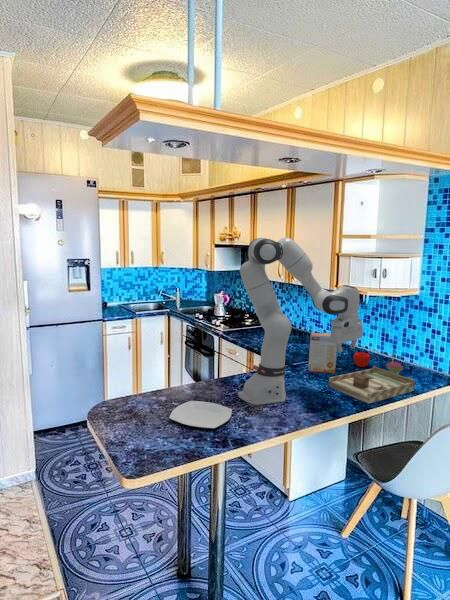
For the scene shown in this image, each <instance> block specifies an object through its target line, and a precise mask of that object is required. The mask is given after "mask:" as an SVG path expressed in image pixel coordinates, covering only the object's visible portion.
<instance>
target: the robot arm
mask: <svg viewBox="0 0 450 600" xmlns="http://www.w3.org/2000/svg"><path fill="white" fill-rule="evenodd" d="M247 247H248V248H247V254H246V255H247V256H246V260H247V261H245V262H244V263H242V265H241V266H240V268H239V274H240V277H241V278H240V279H241V281H242V283H243V286H244V289H245V291H246V293H247V296H248V297H249V299H250V301H251V304H252V307H253V308H254V311H255V314H256V316H257V318H258V321H259V323H260V324H261V325H260V326H261V327H262V328H263V330H264V336H263V341H262V344H261V349H260V361H259V362H260V363H259V364H258V365H256V364H254V365H253V366H252V370H254V371H256V372H255V373H254V374H253V375H252V376H251V377H250V378H248V379H247V380H246V381H245V382H244V385H243V390H241V391H239V392H237V396H238V398H240V399H241V400H242V401H244V402H246V403H248V404H251V405H255V406H257V405H260V406H261V405H266V404H275V403H283V402H286V397H287V394H286V393H287V392H286V388H285V387H286V386H285V385H286V384H285V375H286V365H285V364H286V353H287V352H286V351H287V346H288V341H289V338H290V335H291V332H292V324H291V323H292V322H291V320H290V318H289V317H287V315H285V314H284V313H283V311H282V309H281V306H280V305H279V301H278V298H277V295H276V292H275V290H274V287H273V285H272V284H271V280H270V279H269V276H268V275H267V272H266V265H270V264H273V263H274V262H275V263H276V262H279V263H280V264H281V265H282V266H283V268H284V269H285V270H286V271H287V273H289V274H290V276H292V277H294V279H296V280H297V281H298V282H299V283H300V284H301V286H303V288H304V289H305V290H306V292H307V293H308V294H309V296H310V298H311V301H312V305H313V307H314V308H315V309H317V310H318V311H320V312H322V313H325V314H327V315H333V316H334V315H338V316H337V317H335V318H334V319H333V320H331V322H330V325H331V326H332V327H331V329H330V334H331V336H330V340H331V342H332V343H335V344H336V345H337V352H338V353H342V352H343V349H344V348H343V347H342V345H343V343H348V342H351V343H350V344H349V349H352V350H353V349H355V348H356V344H357V343H358V340H359V339H362V338H363V334H364V333H363V332H364V331H363V324H362V320H361V319H360V318H359V315H360V314H359V308H360V291H359V289H358V288H357V287H355V286H351V285H346V284H343V285H341V286H339V288H337V289H336V290H333V291H329V290H328V289H325V288H323V287H322V286H321V284H320V283H319V281H317V279H316V278H315V277H314V274H313V272H312V271H313V262H312V261H311V259H310V257H309V255H308V254H307V253H306V251H304V249H303V248H302V247H301V246H300V245H299V244H298V243H297V242H296V241H295V240H293V239H292V238H290V237H282V238H280V239H279V240H278V241H275V240H273V239H270V238H265V237H259V238H258V237H257V238H254V239H252V241H250V243H249V244H248V246H247Z"/></svg>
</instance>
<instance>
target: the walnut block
mask: <svg viewBox="0 0 450 600" xmlns="http://www.w3.org/2000/svg"><path fill="white" fill-rule="evenodd" d="M353 386H355V387H358V388H360V389H364V388H368V386H369V377H367V376H364V375H362V374H359V375H355V376H354V381H353Z"/></svg>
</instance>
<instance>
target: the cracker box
mask: <svg viewBox="0 0 450 600" xmlns="http://www.w3.org/2000/svg"><path fill="white" fill-rule="evenodd" d="M330 336H331V333H325V332H324V333H323V332H321V333H320V332H310V338H309V339H310V341H309V350H308V351H309V353H308V365H307V369H308V371H309V372H310V373H323V374H324V373H325V374H336V366H337V365H336V362H337V352H338V348H337V345H336V344H335V343H332V342H331V340H330Z"/></svg>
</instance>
